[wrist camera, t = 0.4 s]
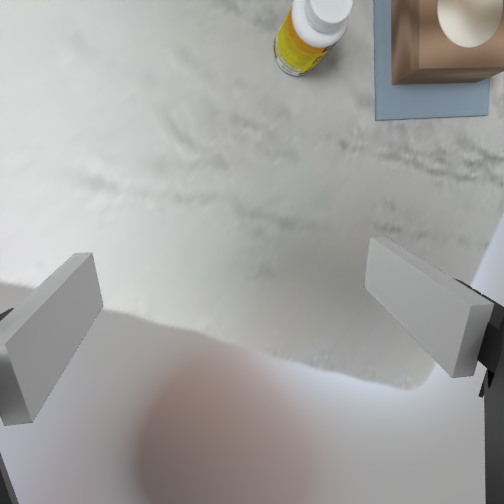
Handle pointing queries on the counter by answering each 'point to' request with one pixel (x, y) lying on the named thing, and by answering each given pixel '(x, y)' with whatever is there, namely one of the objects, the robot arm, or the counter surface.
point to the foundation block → (446, 41)
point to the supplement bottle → (309, 33)
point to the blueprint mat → (418, 85)
